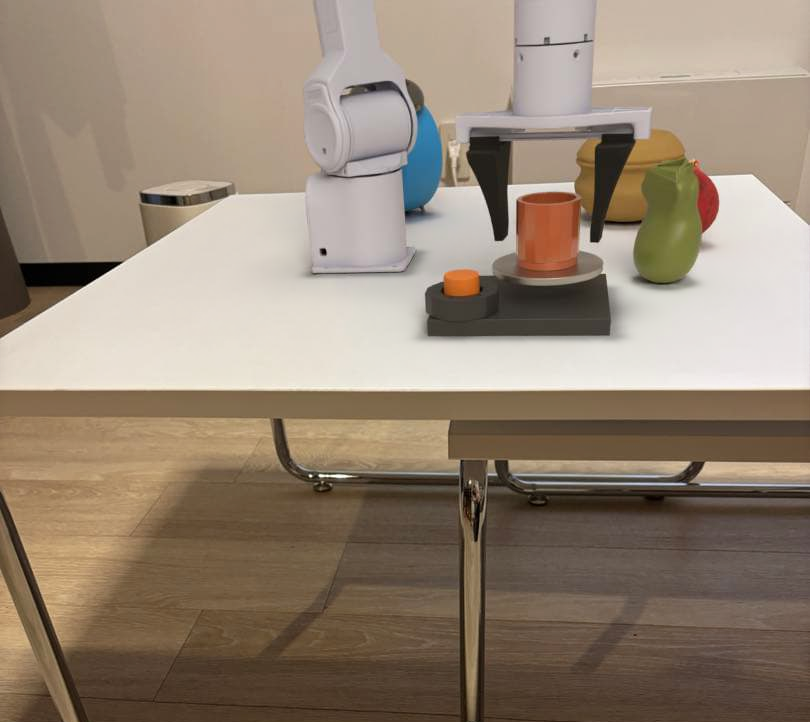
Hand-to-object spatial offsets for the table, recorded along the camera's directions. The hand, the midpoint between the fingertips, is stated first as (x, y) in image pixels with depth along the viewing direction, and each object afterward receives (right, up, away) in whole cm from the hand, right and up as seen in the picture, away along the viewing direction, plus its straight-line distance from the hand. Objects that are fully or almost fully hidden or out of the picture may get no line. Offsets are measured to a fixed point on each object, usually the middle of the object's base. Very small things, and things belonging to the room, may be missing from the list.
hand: (547, 239), depth 67 cm
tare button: (-7, -5, -1) cm, 9 cm away
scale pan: (0, -2, +1) cm, 3 cm away
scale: (-2, -5, +2) cm, 6 cm away
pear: (+11, -2, +7) cm, 13 cm away
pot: (+14, +12, +27) cm, 33 cm away
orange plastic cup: (0, -2, +1) cm, 2 cm away
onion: (+16, +5, +16) cm, 23 cm away
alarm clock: (-13, +17, +37) cm, 43 cm away
